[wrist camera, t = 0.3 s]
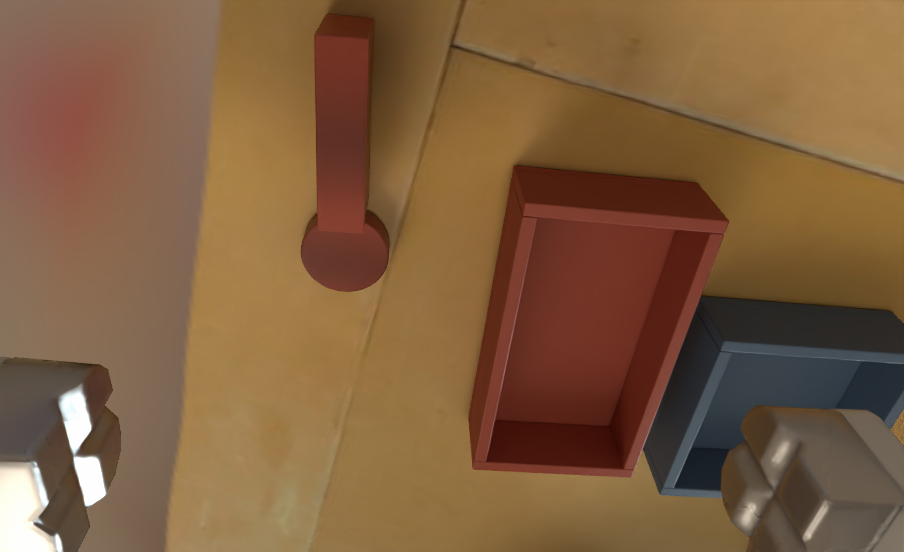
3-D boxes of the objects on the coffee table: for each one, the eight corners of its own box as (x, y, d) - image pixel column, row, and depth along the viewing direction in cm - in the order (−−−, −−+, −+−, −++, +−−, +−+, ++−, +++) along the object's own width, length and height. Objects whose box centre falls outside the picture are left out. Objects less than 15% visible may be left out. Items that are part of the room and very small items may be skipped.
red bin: (513, 164, 29) (525, 202, 26) (698, 182, 29) (730, 221, 26) (468, 418, 37) (472, 470, 33) (614, 426, 37) (632, 478, 34)
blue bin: (696, 295, 33) (724, 340, 30) (891, 310, 34) (938, 356, 31) (640, 444, 38) (659, 495, 35) (810, 453, 39) (842, 504, 36)
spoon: (298, 11, 25) (283, 30, 22) (400, 20, 25) (398, 40, 23) (305, 275, 31) (294, 316, 29) (387, 280, 32) (384, 320, 29)
